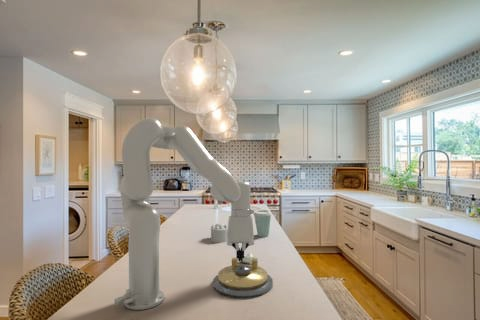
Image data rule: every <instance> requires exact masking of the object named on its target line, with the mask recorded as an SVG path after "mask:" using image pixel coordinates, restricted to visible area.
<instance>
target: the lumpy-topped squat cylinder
mask: <svg viewBox="0 0 480 320" xmlns="http://www.w3.org/2000/svg"><path fill="white" fill-rule="evenodd" d="M227 233H228V224H226V223H215V224H212V225H211V227H210V240H211V242H212V241H213V243H216V244H222V242H223V243H227V240H228V237H227Z"/></svg>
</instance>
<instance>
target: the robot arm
mask: <svg viewBox="0 0 480 320" xmlns="http://www.w3.org/2000/svg"><path fill="white" fill-rule="evenodd" d="M152 148H157V149H164V150H172V151H176V152H177V153H178V154H179V155H180V157H182V159H183V160H184V161H185V163H186V164H187V165H188V167H189V168H190V169H191V170H192V172H195V173H196V174H197V175H199V176H201V177H202V178H204V179H205V180H207V181H208V182H209V183H210V184H212V185H211V186H210V190H209V191H210V195H211V197H212V198H213V199H214V200H217V201H220V202H224V203H228V204H230V206H231V208H230V212H231V213H230V214H231V215H230V216H229V217H228V220H227V225H228V233H227V237H228V240H227V241H226V245H227V246H231V247H233V248H234V249H235V250H236V251H235V253H236V257H235V258H238V262H240V260H241V261H243V258H244V255H245V250H246V249H247V248H249V247H250V246H254V245H255V241H254V238H255V237H254V221H253V216H252V214H253V215H254V213H255V210H254V209H252V208H251V194H252V193H251V192H252V191H251V183H250V182H249V181H236V179H235V178H234V176H233V175H232V174H231V173H230V171H229V170H228V169H226V167H224V166H223V165H222V164H221V163H220V162H219V161H218V160H217V159H215V158H214V156H212V155H211V154H210V152H209V151H208V149H206V147H205V146H204V145H203V143H202V142H201V141H200V139H199V138H198V137H197V135H196V134H195V133H194V132H193V130H192V129H191V128H190V127H188V126H187V125H184V124H183V125H182V124H181V125H176V126H165V125H162V123H161V122H160V120H158V119H157V118H154V117H146V118H145V117H144V118H143V119H141V120H140V121H138V122H137V123H135V124H134V125H133V126H132V127H131V128H130V129H129V131H128V132H127V134H126V135H125V137H124V140H123V142H122V145H121V161H122V173H123V176H122V178H121V179H120V184H119V193H120V200H121V206H122V212H123V214H122V215H123V218H124V222H125V223H126V224H127V225H128V229H129V230H128V231H129V232H128V289H126V290H125V293H124V294H123V295H122V296H119V297H116V298H115V299H114V304H115V306H119V305H120V304H123V306H124V307H126V309H129V310H135V311H137V310H138V311H139V310H140V311H142V310H148V309H151V308H155V307H156V306H158V305H160V304H161V303H163V301H164V300H165V293H164V292H163V291H162V290H160V250H159V249H160V232H161V216H160V214H159V212H158V210H157V209H156V208H155V207H154V206H152V205H151V202H150V201H151V198H150V197H151V196H152V194H153V192H154V180H153V174H152V167H151V159H150V157H151V156H150V155H151V154H150V153H151V149H152ZM239 244H241V247H240V246H239Z"/></svg>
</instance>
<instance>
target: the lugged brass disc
mask: <svg viewBox="0 0 480 320" xmlns="http://www.w3.org/2000/svg"><path fill="white" fill-rule="evenodd" d="M256 258H257V257H256ZM256 258H253V259H252V265H250V264H244V263H242V264H238V262H239V261H238V258H236V257H232V258H231V265H229V266H225V267H224V268H221V269H220V270H219V271H218V273H217V275H218V281H219V284H220V285H221V286H223V287H225V288H228V289H231V290H239V291H246V290H254V289H257V288H260V287H262V286H264V285H265V284H266V283H267V274H268V272H267V270H266V269H264V268H263V267H260V266H259V264H258V261H259V258H257V259H256Z"/></svg>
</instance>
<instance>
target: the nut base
mask: <svg viewBox="0 0 480 320" xmlns="http://www.w3.org/2000/svg"><path fill="white" fill-rule="evenodd" d="M273 283H274V282H273V278H272V276H270V275H269V274H268V273H267V283H266V284H265V285H264V286H262V287H260V288H257V289H254V290H246V291H239V290H231V289H228V288H225V287H223V286H221V285H220V284H219V281H218V274H217V275H216V276H214V278H213V280H212V287H213V290H214V291H215V292H217V293H218V294H220V295H222V296H225V297H229V298H234V299H249V298H256V297H261V296H263V295H265V294H268V293H269V292H270V291H271V290H272V289H273V287H274V286H273Z"/></svg>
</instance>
